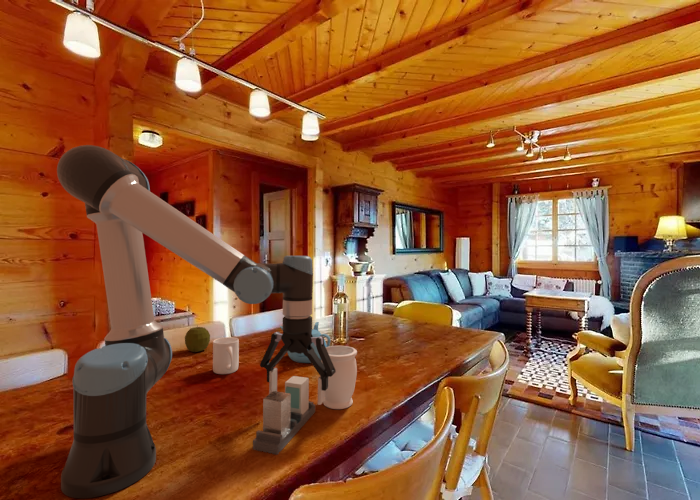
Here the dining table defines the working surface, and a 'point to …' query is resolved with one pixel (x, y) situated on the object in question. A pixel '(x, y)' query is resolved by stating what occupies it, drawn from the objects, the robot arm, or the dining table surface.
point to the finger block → (298, 393)
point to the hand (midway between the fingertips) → (296, 398)
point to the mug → (225, 355)
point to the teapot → (315, 333)
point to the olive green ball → (197, 339)
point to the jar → (341, 377)
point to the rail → (277, 439)
